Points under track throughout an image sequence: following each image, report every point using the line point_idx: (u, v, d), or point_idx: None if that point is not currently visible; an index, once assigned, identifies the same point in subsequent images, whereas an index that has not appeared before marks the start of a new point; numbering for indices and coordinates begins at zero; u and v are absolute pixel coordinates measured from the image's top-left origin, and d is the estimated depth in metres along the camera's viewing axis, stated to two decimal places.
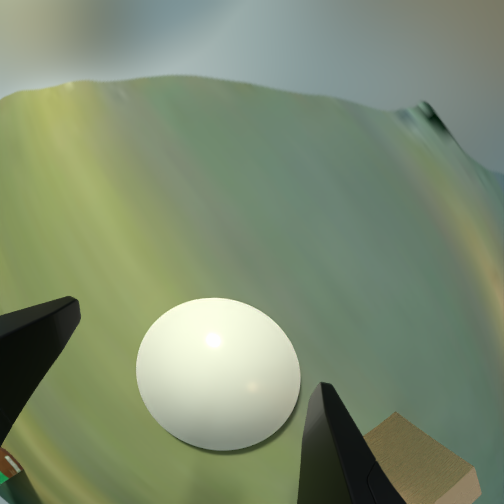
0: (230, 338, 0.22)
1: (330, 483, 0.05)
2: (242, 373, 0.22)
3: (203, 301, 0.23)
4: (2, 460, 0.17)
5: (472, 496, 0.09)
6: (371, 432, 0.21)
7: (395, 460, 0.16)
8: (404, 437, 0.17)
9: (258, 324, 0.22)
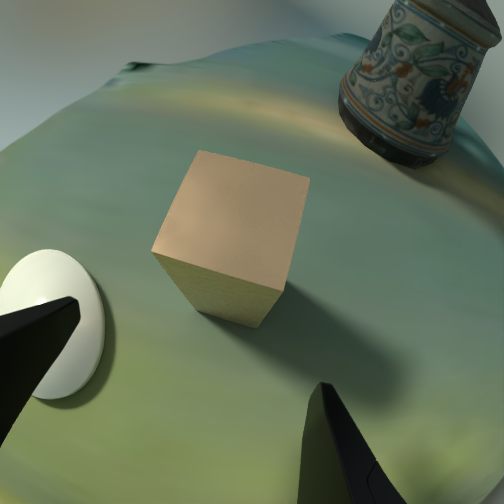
0: (32, 282, 0.21)
1: (330, 483, 0.05)
2: None
3: (11, 271, 0.21)
4: None
5: (284, 186, 0.11)
6: None
7: None
8: None
9: (43, 259, 0.21)
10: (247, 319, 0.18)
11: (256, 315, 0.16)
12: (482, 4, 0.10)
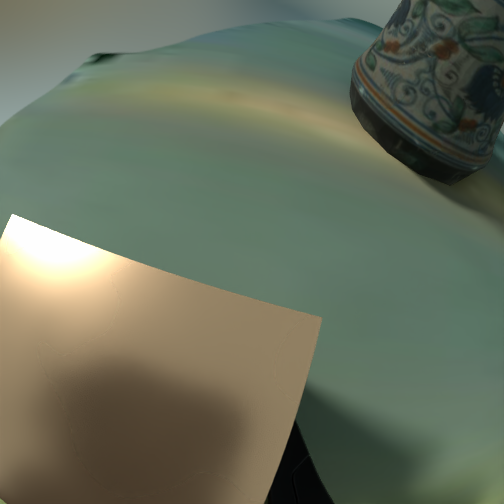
0: None
1: None
2: None
3: None
4: None
5: (219, 362, 0.03)
6: None
7: None
8: None
9: None
10: None
11: None
12: None
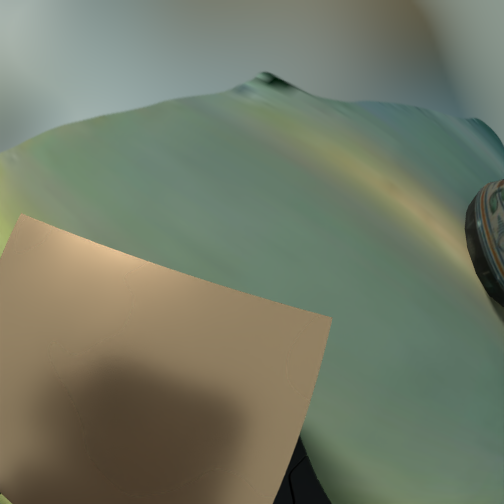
0: None
1: None
2: None
3: None
4: None
5: (233, 361, 0.03)
6: None
7: None
8: None
9: None
10: None
11: None
12: None
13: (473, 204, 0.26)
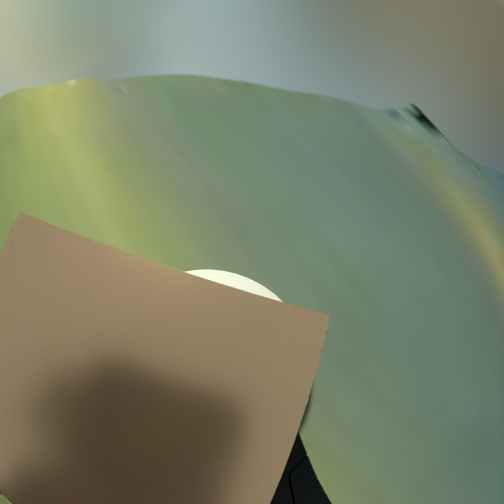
0: None
1: None
2: None
3: (194, 274, 0.19)
4: None
5: (231, 359, 0.03)
6: None
7: None
8: None
9: None
10: None
11: None
12: None
13: None
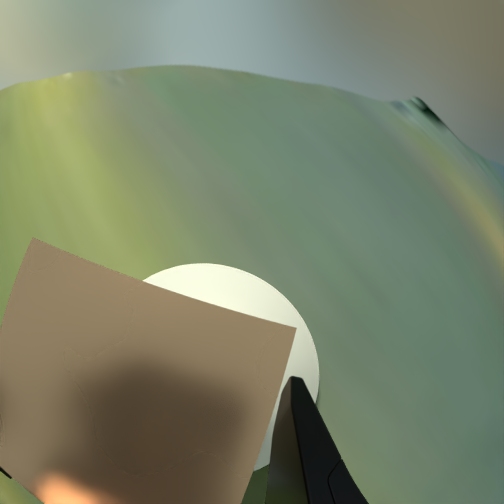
0: None
1: (291, 479, 0.05)
2: None
3: (189, 268, 0.18)
4: None
5: (213, 363, 0.04)
6: None
7: None
8: None
9: (260, 296, 0.17)
10: None
11: None
12: None
13: None
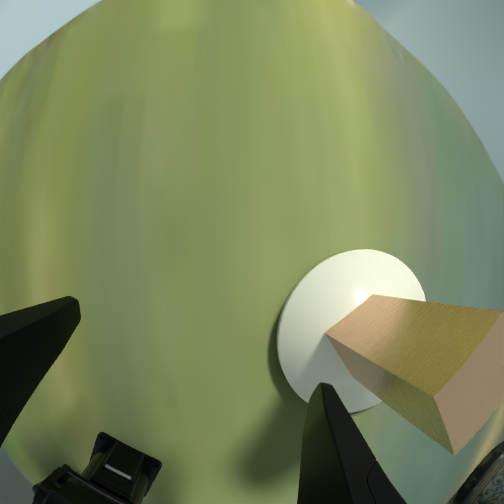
0: None
1: (330, 483, 0.05)
2: None
3: (401, 265, 0.22)
4: None
5: None
6: (344, 318, 0.20)
7: (381, 335, 0.15)
8: (388, 311, 0.17)
9: None
10: (369, 386, 0.17)
11: (389, 404, 0.14)
12: None
13: None
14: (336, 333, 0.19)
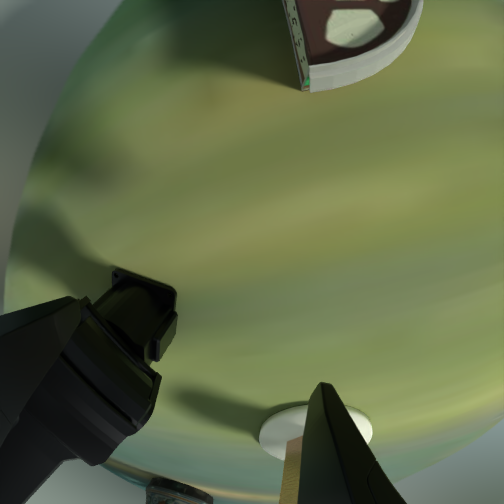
0: None
1: (330, 483, 0.05)
2: None
3: None
4: None
5: None
6: None
7: None
8: None
9: None
10: (289, 464, 0.25)
11: (284, 484, 0.23)
12: None
13: None
14: None
